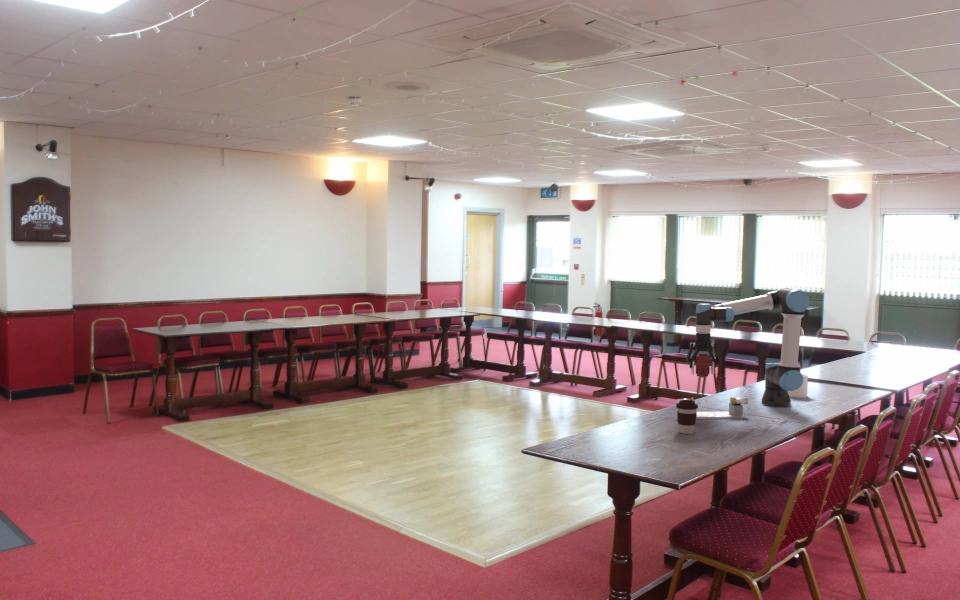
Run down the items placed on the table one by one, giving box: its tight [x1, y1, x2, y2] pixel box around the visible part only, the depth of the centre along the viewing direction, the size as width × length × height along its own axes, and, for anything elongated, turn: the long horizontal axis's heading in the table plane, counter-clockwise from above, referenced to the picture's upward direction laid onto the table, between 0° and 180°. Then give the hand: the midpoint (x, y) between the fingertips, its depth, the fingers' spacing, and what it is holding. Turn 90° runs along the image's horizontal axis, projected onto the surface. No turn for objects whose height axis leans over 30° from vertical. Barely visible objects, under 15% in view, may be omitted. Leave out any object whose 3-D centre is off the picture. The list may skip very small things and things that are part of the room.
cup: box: [788, 374, 809, 399], centre depth 440 cm, size 12×12×12 cm
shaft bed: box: [676, 396, 749, 420], centre depth 389 cm, size 36×12×10 cm, turn 92°
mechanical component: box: [693, 352, 713, 379], centre depth 401 cm, size 12×10×10 cm
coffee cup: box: [675, 400, 699, 435], centre depth 355 cm, size 10×10×15 cm
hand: (702, 374), depth 401 cm, fingers closed on mechanical component, 10 cm apart
